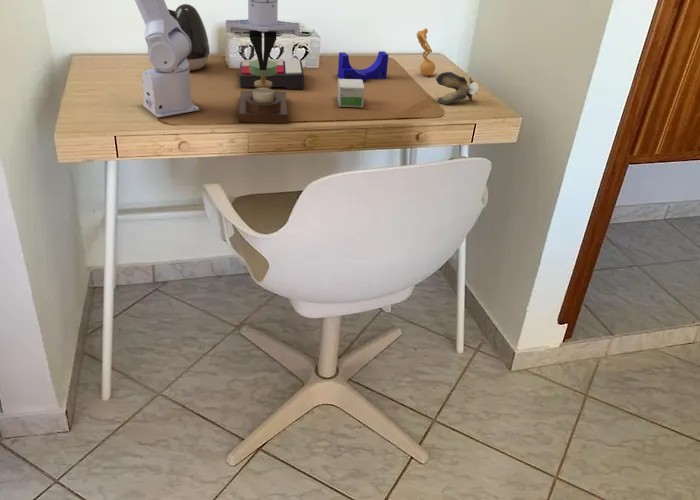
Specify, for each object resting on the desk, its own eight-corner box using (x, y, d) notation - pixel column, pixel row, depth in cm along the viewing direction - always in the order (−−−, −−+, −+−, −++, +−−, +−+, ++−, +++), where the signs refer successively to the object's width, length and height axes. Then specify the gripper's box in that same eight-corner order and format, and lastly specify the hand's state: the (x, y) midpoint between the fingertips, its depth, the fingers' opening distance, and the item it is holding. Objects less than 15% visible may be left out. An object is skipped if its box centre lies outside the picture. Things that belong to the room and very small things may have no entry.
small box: (338, 107, 151) (339, 86, 149) (336, 98, 156) (337, 77, 153) (363, 108, 152) (365, 87, 149) (361, 99, 157) (362, 78, 154)
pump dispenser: (163, 62, 170) (158, 0, 162) (204, 60, 174) (201, -2, 166) (172, 75, 162) (167, 10, 154) (215, 72, 166) (212, 8, 158)
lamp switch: (273, 104, 140) (273, 95, 139) (252, 104, 139) (252, 94, 138) (273, 97, 144) (273, 87, 143) (252, 96, 143) (252, 87, 142)
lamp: (277, 90, 146) (277, 68, 144) (249, 89, 146) (248, 67, 143) (276, 81, 151) (276, 60, 149) (249, 80, 151) (249, 59, 148)
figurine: (439, 80, 173) (446, 32, 166) (417, 80, 171) (423, 32, 165) (427, 70, 179) (433, 24, 173) (406, 70, 178) (411, 24, 171)
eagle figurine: (462, 88, 165) (430, 83, 161) (477, 69, 159) (445, 63, 155) (469, 113, 162) (436, 109, 158) (485, 95, 156) (452, 90, 152)
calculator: (240, 58, 165) (301, 57, 166) (241, 75, 167) (301, 74, 169) (238, 72, 156) (303, 71, 157) (240, 90, 158) (304, 89, 160)
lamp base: (287, 123, 141) (287, 105, 139) (238, 122, 140) (238, 104, 138) (285, 100, 153) (285, 83, 151) (240, 99, 152) (240, 81, 149)
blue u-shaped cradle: (343, 82, 166) (344, 57, 163) (337, 76, 170) (339, 52, 167) (388, 80, 170) (390, 56, 167) (382, 74, 174) (384, 51, 170)
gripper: (223, 2, 126) (226, 73, 134) (301, 6, 128) (299, 76, 135) (225, -6, 132) (227, 62, 140) (299, -3, 134) (297, 65, 141)
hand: (263, 68), depth 138 cm, fingers closed
